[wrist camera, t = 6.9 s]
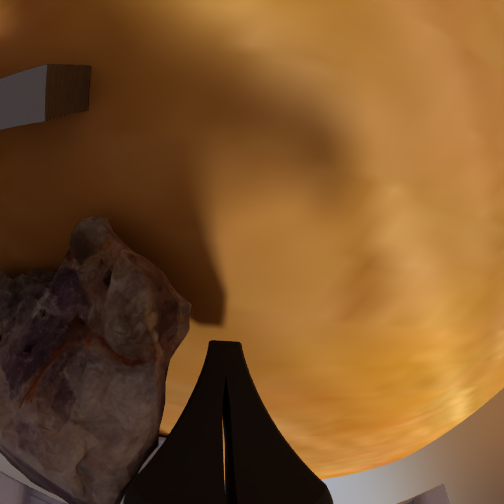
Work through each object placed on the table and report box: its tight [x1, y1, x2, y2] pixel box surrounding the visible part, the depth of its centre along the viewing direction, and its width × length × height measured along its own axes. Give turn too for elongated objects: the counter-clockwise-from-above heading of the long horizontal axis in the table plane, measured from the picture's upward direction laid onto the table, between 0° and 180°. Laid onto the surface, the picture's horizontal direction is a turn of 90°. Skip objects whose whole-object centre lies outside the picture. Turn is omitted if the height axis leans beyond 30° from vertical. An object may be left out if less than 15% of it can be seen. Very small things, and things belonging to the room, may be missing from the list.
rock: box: [0, 217, 192, 504], centre depth 8 cm, size 12×9×10 cm
